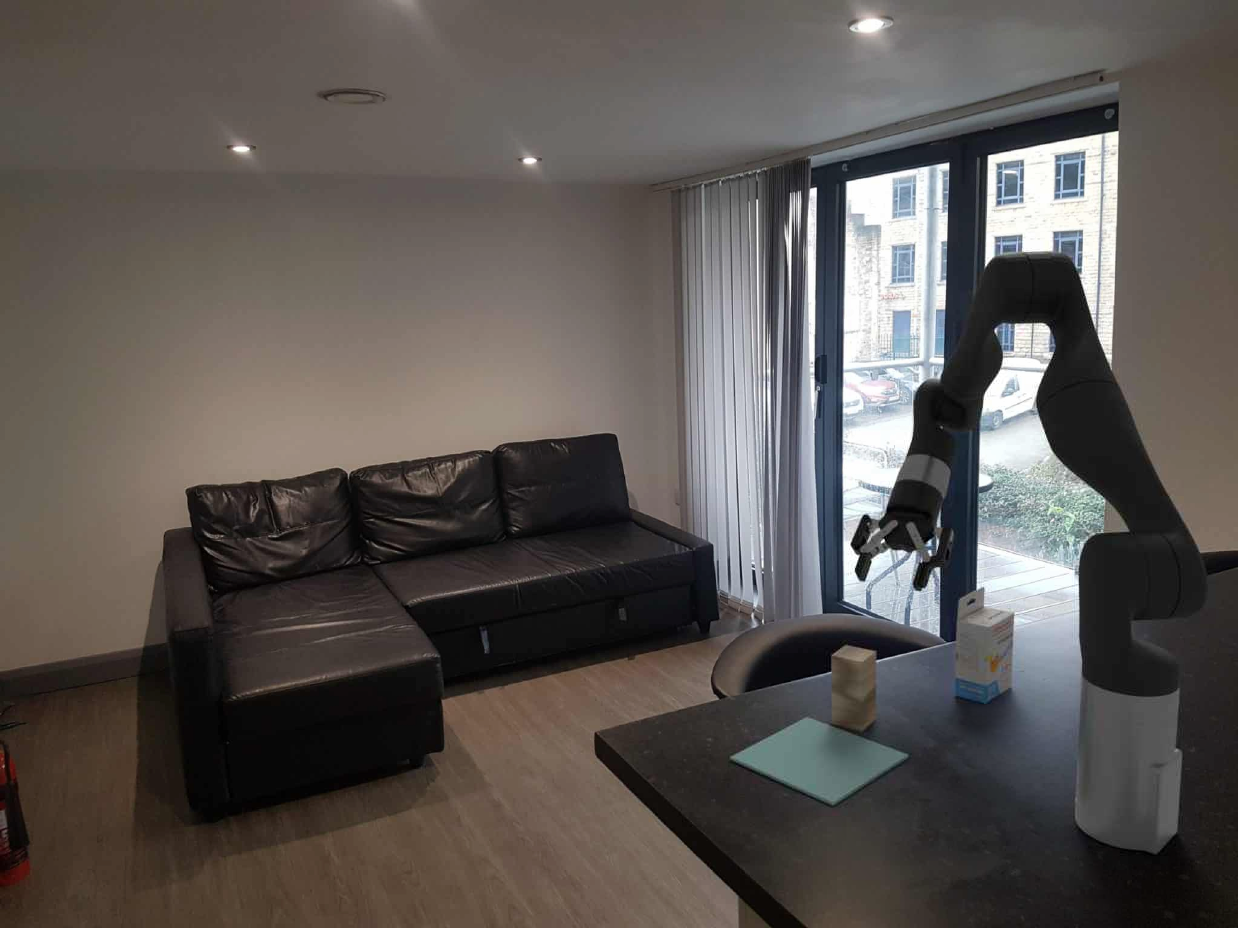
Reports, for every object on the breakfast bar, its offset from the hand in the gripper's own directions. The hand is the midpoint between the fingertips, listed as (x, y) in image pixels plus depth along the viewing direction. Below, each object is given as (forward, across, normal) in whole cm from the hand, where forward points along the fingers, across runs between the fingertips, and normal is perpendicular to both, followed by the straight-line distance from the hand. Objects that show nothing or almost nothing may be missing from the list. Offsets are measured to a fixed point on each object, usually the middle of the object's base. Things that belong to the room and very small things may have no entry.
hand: (888, 583), depth 138 cm
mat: (+29, +1, -6) cm, 29 cm away
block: (+20, 0, +3) cm, 20 cm away
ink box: (+7, +12, +17) cm, 22 cm away
